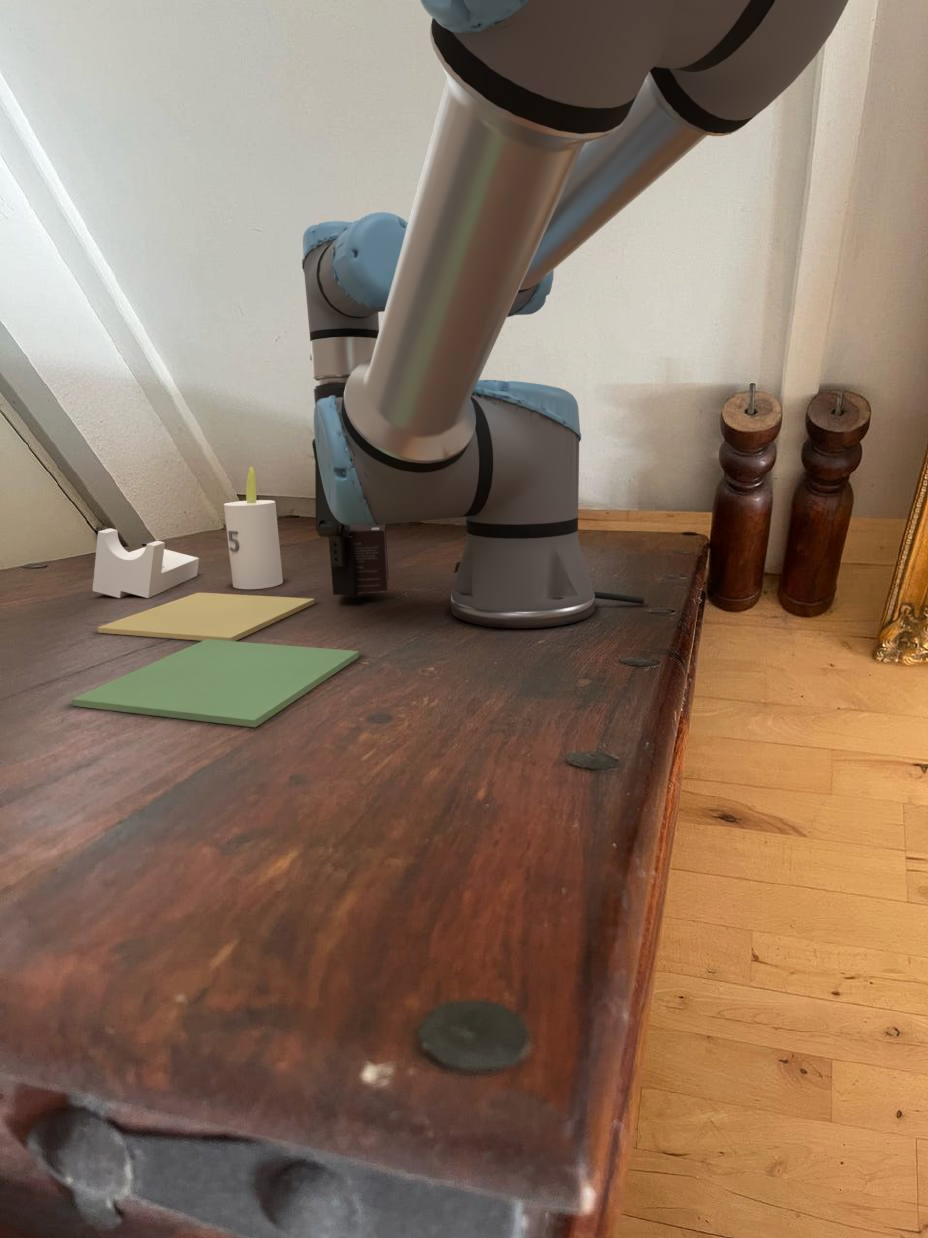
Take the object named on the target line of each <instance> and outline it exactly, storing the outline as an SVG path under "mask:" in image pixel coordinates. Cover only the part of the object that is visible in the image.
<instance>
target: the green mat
mask: <svg viewBox="0 0 928 1238" xmlns="http://www.w3.org/2000/svg"><path fill="white" fill-rule="evenodd" d="M359 658H360V652H359V650H348V649H336V648H323V647H310V646H296V645H287V644H286V645H284V644H273V643H272V644H271V643H270V644H269V643H261V642H260V643H258V642H249V641H248V642H246V641H222V640H209V639H206V640H204V641H198V642H196V643H194V644H193V645H190V646H188V647H186V648H183V649H181V650H179V651H177V652H174V653H172V654H170V655H168V656H165V657H163V658H161V659H159V660H157V661H154V662H151V663H149V664H147V665H145V666H143V667H141V668H139V669H136V670H133V671H131V672H129V673H127V674H125V675H122V676H120V677H118V678H115V679H114V680H111V681H109V682H107V683H105V684H102V685H99V686H98V687H95V688H93V689H91V690H88V691H87V692H84V693H82V694H79V695H78V696H75V697H73V698H71V703H72V706H73V707H79V708H86V709H95V710H103V711H113V712H121V713H128V714H138V715H147V716H154V717H163V718H172V719H180V720H187V721H188V720H189V721H194V722H195V721H196V722H203V723H213V724H221V725H229V726H239V727H247V728H257V727H258V726H261V725H262V724H263V723H264V722H266V721H267V720H269V719H270V718H272V717H273V716H275V715H277V714H278V713H280V711H282V710H284V709H285V708H287V707H288V706H289V705H291V704H293V703H294V702H295V701H297V700H299V699H300V698H301V697H303V696H304V695H306V694H307V693H309V692H311V690H313V689H315V688H316V687H317V686H319V685H321V684H322V683H323V682H325V681H327V680H328V679H329V678H331V677H333V676H334V675H335V674H337V673H338V672H339V671H341V670H343V669H344V668H346V667H347V666H348V665H350V664H351V663H353V662H354V661H355V660H358V659H359Z"/></svg>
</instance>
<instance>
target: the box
mask: <svg viewBox="0 0 928 1238" xmlns="http://www.w3.org/2000/svg"><path fill="white" fill-rule="evenodd" d="M385 526H386V525H385V524H383V525H377V526H375V527H374V526H371V525H350V531H349V536H354V545H355V559H356V573H357V587H358V594H379V593H380V594H382V593H383V594H384V593H387V592H388V590H389V589H388V587H389V579H388V575H389V569H388V570H387V559H388V550H387V551H386V542H387V535H386V536H385Z"/></svg>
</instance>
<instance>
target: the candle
mask: <svg viewBox="0 0 928 1238" xmlns="http://www.w3.org/2000/svg"><path fill="white" fill-rule="evenodd" d="M256 479H257V478H256V473H255V469H254V468H253V466H252V465H251V466H250V467H249V469H248V472H247V476H246V487H245V489H246V491H245V498H246V500H238V501H232V502H231V501H230V502H226V503H223V511H224V518H225V527H226V537H227V545H228V554H229V562H230V571H231V578H232V579H231V580H232V581H231V583H232V587H233V588H235V589H238V590H260V589H269V588H274V587H278V586H279V585H282V584H283V583H284V579H283V567H282V557H281V547H280V538H279V527H278V516H277V505H276V501H275V500H271V499H257V494H258V493H257V480H256Z"/></svg>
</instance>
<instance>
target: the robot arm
mask: <svg viewBox="0 0 928 1238" xmlns="http://www.w3.org/2000/svg"><path fill="white" fill-rule="evenodd" d="M849 1H850V0H420V3H421V5H422V7H423V9H424V10H425V11H426V13H427V14H428V15H429V16H430V17H431V18H432V19H431V23H430V28H429V39H430V44H431V46H432V49H433V52H434V53H435V56H436V58H437V59H438V61H439V64H440V66H441V68H442V70H443V72H444V74H445V76H446V80H445V83H444V86H443V87H444V88H443V91H442V95H441V99H440V103H439V106H438V110H437V114H436V117H435V121H434V125H433V127H432V128H433V129H432V132H431V137H430V140H429V143H428V147H427V151H426V155H425V159H424V162H423V166H422V170H421V172H420V177H419V181H418V184H417V189H416V191H415V196H414V199H413V203H412V206H411V211H410V214H409V218H408V221H406V220H405V219H404V218H402V217H401V216H399V215H397V214H394V213H392V212H386V211H380V212H373V213H369V214H366V215H364V216H362V217H361V218H360V219H357V220H354V221H344V220H343V221H342V220H331V221H324V222H323V221H322V222H319V223H317V224H312V225H310V226H308V227H307V228H306V229H305V231H304V233H303V235H302V260H301V269H302V271H303V275H304V284H305V285H304V286H305V296H306V297H305V298H306V309H307V319H308V320H307V321H308V331H309V341H310V354H309V360H310V361H311V365H312V377H313V379H314V380H315V381H317V382H319V383H318V384H317V385H315V388H313V399H314V408H313V409H314V410H313V430H314V431H313V432H314V438H313V439H312V442H311V444H312V445H311V446H312V451H313V456H314V465H315V466H314V469H315V470H314V473H315V477H314V478H315V479H314V481H315V483H314V484H315V485H314V487H315V495H314V496H315V499H314V500H315V532H316V533H317V534H318V536H319V537H321V538H327V539H328V546H329V556H330V558H329V559H330V560H329V561H330V570H331V583H332V595H335V596H357V595H359V593H358V587H357V573H356V559H355V545H354V536H349V531H350V525H371V526H374V527H375V526H377V525H383V524H385V536H386V537H387V529H386V528H387V527H386V526H393V525H394V524H402V523H414V522H424V521H434V520H444V519H446V520H447V519H454V518H465V532H466V533H465V534H466V535H465V536H466V537H465V538H466V539H465V544H464V548H463V550H462V554H461V557H460V561H458V562H457V561H456V563H455V567H454V572H453V574H456V575H455V578H454V582H453V586H452V588H451V594H450V605H451V608H450V609H451V614H452V615H453V616H454V617H455V618H457V619H459V620H461V621H464V622H467V623H470V624H475V625H479V626H485V627H492V628H505V629H536V628H549V627H556V626H562V625H568V624H573V623H576V622H579V621H582V620H585V619H587V618H589V617H590V616H592V615H593V614H594V613H595V607H596V606H595V602H596V599H598V600H599V599H600V600H608V601H616V602H625V603H633V604H640V605H643V604H644V603H645V597H641V596H636V595H635V596H634V595H627V594H619V593H612V592H611V593H610V592H602V591H595V590H594V585H593V582H592V579H591V576H590V573H589V570H588V566H587V564H586V563H587V562H586V560H585V556H584V554H583V551H582V547H581V544H580V541H579V496H580V495H579V490H580V489H579V487H580V486H579V485H580V484H579V483H580V442H581V440H582V434H581V427H580V426H581V425H580V413H579V405H578V401H577V400H576V397H575V396H574V395H573V394H572V393H570V392H569V391H568V390H566V389H564V388H560V387H557V386H552V385H547V384H541V383H535V382H534V383H533V382H528V381H527V382H525V381H518V380H517V381H516V380H508V381H505V380H502V379H501V380H497V379H480V378H481V376H482V373H483V371H484V369H485V367H486V364H487V362H488V360H489V358H490V356H491V353H492V351H493V349H494V346H495V345H496V342H497V339H498V337H499V336H500V333H501V331H502V328H503V326H504V324H505V322H506V319H507V318H510V317H513V316H527V315H528V316H529V315H532V314H535V313H537V312H539V311H540V310H541V309H542V308H543V307H544V305H545V304H546V299H547V296H549V295H550V293H551V292H552V288H553V282H554V275H555V274H554V273H555V272H554V271H555V269H556V268H557V267H559V266H560V265H561V264H562V263H563V262H564V261H565V260H566V259H567V258H569V257H570V256H571V255H572V254H573V253H574V252H576V251H577V250H578V249H579V248H580V247H582V245H584V244H585V243H586V242H587V241H588V240H589V239H590V238H592V237H593V236H594V235H595V234H596V233H597V232H599V231H600V230H601V229H602V228H603V227H605V225H607V224H608V223H609V222H610V221H612V219H613V218H615V217H616V216H617V215H618V214H620V212H621V211H623V210H624V209H625V208H626V207H628V205H629V204H631V203H632V202H633V201H634V200H635V199H636V198H637V197H639V196H640V195H641V194H642V193H643V192H645V191H646V190H647V189H649V187H650V186H651V185H653V184H654V183H655V182H656V181H657V180H658V179H660V178H661V177H662V176H663V175H664V174H665V173H667V172H668V170H670V169H671V168H672V167H673V166H674V165H675V164H677V163H678V162H679V161H681V159H682V158H684V157H685V156H686V155H687V154H688V153H689V152H690V151H692V150H693V149H694V148H695V147H696V146H697V145H699V143H701V142H702V141H703V140H704V139H705V138H706V137H708V136H710V137H724V136H725V137H726V136H728V135H731V134H733V133H736V132H738V131H739V130H741V129H742V128H743V127H744V126H746V124H748V123H749V122H751V121H752V120H753V119H754V118H755V117H756V116H757V115H759V114H760V113H761V112H762V111H764V110H765V109H766V108H768V107H769V106H770V105H771V104H772V103H773V102H774V101H775V100H776V99H777V98H778V97H779V96H781V94H783V92H785V91H786V90H787V89H788V88H789V87H790V86H791V85H792V84H793V83H794V82H795V81H796V80H797V78H798V77H799V76H800V75H801V74H802V73H803V72H804V71H805V70H806V68H807V67H808V66H809V65H810V63H811V62H812V61H813V60H814V59H815V57H816V56H817V55H818V53H819V52H820V50H821V49H822V48H823V46H824V45H825V43H826V42H827V41H828V39H829V38H830V36H831V35H832V33H833V31H834V29H835V28H836V26H837V24H838V22H839V20H840V19H841V16H842V15H843V13H844V11H845V9H846V7H847V5H848V2H849ZM379 313H383V315H382V319H381V321H380V318H379ZM380 322H381V323H380ZM386 551H387V552H388V544H387V541H386ZM388 560H389V559H388V558H387V570H388V571H389V562H388ZM388 580H389V574H388Z"/></svg>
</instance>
